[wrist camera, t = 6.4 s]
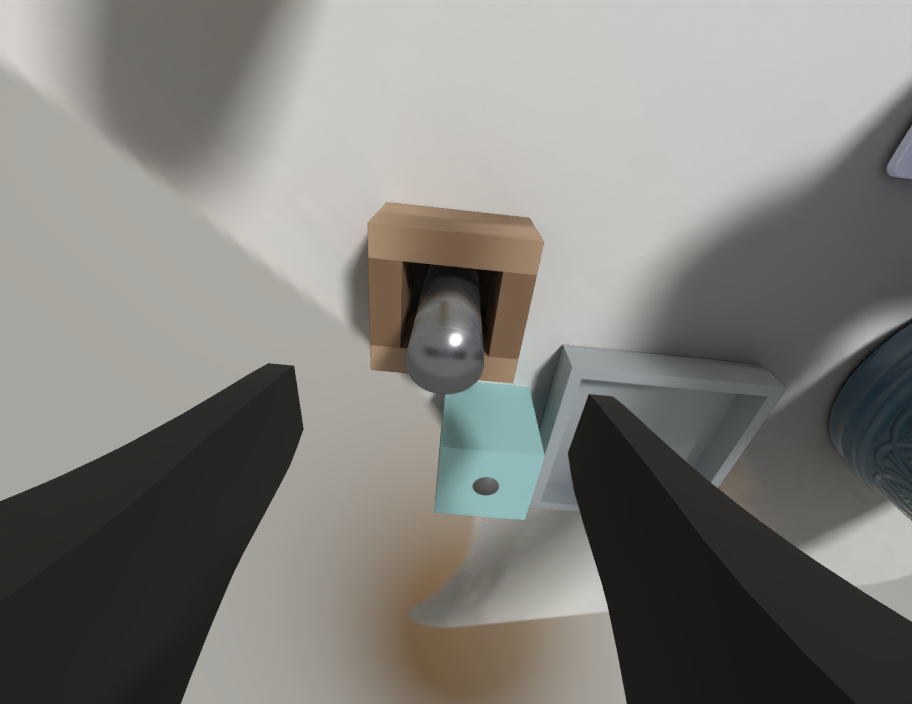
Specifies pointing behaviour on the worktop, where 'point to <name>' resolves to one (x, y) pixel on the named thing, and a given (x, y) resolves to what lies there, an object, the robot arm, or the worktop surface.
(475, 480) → the teal block
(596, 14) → the worktop surface
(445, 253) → the brown wooden square frame
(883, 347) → the canister
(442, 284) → the cylinder
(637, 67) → the worktop surface
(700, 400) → the tray
